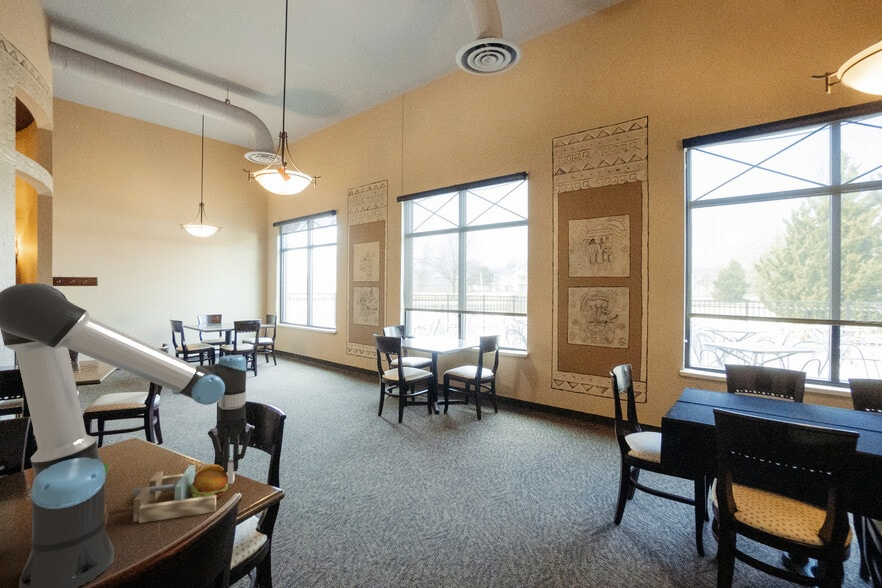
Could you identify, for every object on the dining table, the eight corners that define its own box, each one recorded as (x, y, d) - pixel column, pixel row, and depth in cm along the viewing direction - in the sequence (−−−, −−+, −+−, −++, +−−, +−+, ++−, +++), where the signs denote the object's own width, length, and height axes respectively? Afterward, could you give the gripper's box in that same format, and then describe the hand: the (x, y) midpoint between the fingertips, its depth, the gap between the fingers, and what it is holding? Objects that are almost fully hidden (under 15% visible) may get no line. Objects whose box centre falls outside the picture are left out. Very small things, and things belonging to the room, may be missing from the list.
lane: (227, 480, 129) (228, 462, 129) (214, 511, 111) (215, 490, 111) (157, 489, 123) (158, 470, 123) (132, 524, 104) (132, 501, 104)
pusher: (194, 486, 124) (195, 464, 124) (181, 511, 110) (181, 486, 110) (143, 493, 119) (143, 470, 119) (122, 519, 106) (122, 494, 106)
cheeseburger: (218, 482, 127) (222, 455, 126) (232, 501, 121) (237, 472, 119) (183, 494, 119) (187, 465, 118) (196, 515, 113) (201, 484, 111)
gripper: (256, 401, 126) (255, 473, 126) (211, 404, 122) (210, 479, 122) (253, 407, 119) (252, 484, 119) (205, 411, 115) (203, 490, 115)
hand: (231, 481), depth 121 cm, fingers closed
